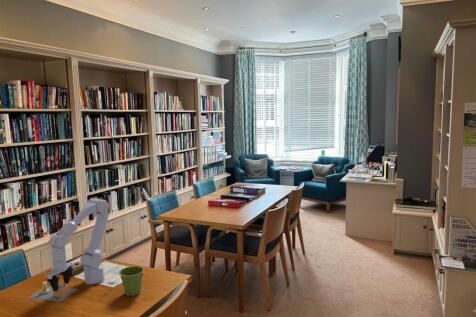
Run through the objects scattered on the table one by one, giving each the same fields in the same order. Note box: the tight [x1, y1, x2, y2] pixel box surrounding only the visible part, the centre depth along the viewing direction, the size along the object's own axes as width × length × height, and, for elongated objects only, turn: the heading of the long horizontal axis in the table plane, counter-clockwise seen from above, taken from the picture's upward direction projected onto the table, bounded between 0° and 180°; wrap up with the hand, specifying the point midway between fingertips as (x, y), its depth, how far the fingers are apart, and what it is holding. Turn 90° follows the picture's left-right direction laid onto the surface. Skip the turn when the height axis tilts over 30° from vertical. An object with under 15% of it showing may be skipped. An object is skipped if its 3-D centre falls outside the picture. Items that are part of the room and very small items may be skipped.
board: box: [27, 281, 78, 302], centre depth 166 cm, size 18×12×6 cm, turn 78°
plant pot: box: [118, 265, 145, 297], centre depth 168 cm, size 12×12×11 cm
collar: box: [53, 282, 71, 297], centre depth 165 cm, size 5×5×4 cm
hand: (61, 287), depth 165 cm, fingers open, 7 cm apart
